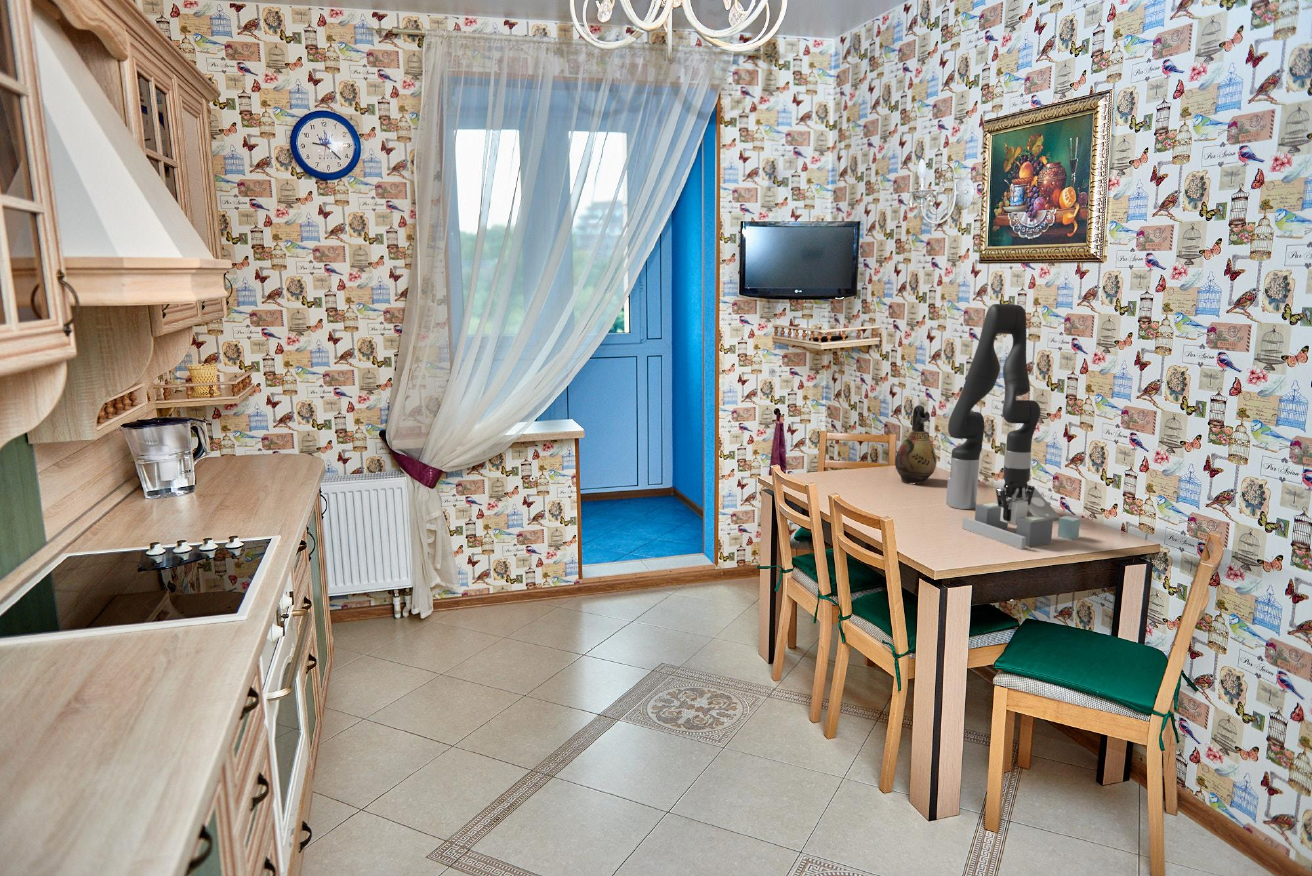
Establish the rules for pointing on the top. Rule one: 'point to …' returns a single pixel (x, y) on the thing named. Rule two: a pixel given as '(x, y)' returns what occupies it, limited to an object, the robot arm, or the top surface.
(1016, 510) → the module
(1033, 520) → the rail mount
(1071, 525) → the block
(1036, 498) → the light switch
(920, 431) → the ceramic jug
